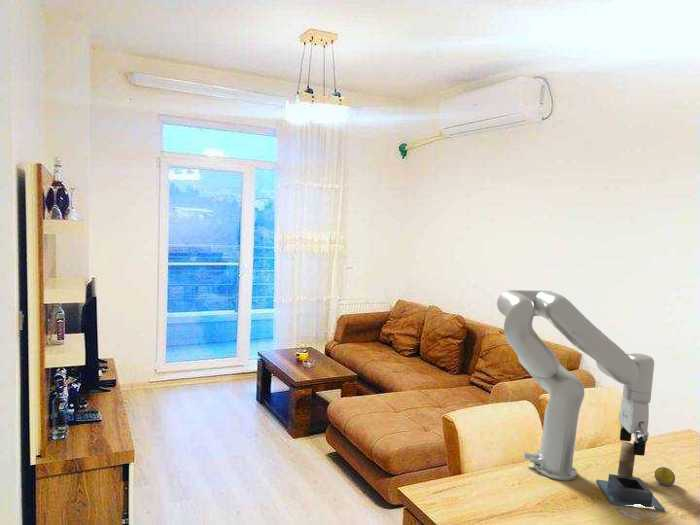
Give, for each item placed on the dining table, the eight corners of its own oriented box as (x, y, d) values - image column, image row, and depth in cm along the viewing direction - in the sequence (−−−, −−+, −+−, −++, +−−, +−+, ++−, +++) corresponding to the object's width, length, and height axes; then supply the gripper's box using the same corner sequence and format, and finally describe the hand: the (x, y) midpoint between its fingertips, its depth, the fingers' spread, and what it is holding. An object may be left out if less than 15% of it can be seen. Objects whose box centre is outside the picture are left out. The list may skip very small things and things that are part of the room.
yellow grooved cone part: (678, 487, 155) (679, 474, 148) (660, 491, 156) (660, 479, 150) (669, 470, 159) (669, 457, 152) (651, 474, 160) (651, 461, 153)
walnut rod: (620, 477, 157) (624, 446, 156) (615, 471, 161) (619, 441, 160) (634, 479, 156) (638, 448, 155) (628, 473, 160) (633, 442, 159)
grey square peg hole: (611, 504, 141) (612, 491, 141) (595, 481, 153) (597, 469, 153) (664, 511, 140) (666, 498, 139) (644, 488, 151) (646, 476, 151)
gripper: (613, 384, 165) (608, 434, 167) (635, 403, 148) (630, 459, 150) (637, 386, 164) (632, 436, 166) (663, 405, 147) (657, 462, 149)
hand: (631, 447), depth 158 cm, fingers open, 9 cm apart
